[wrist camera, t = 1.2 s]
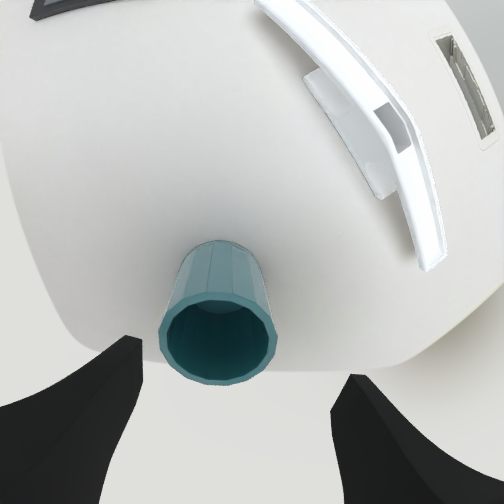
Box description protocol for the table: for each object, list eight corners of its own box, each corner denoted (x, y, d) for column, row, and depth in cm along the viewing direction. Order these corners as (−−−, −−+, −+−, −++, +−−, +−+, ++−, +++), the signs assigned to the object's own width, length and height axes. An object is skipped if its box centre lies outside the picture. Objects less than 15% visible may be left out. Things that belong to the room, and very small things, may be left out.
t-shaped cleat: (299, -9, 13) (322, -51, 8) (442, 229, 20) (488, 254, 15) (248, 15, 14) (256, -28, 9) (405, 259, 20) (447, 292, 15)
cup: (197, 323, 21) (188, 394, 14) (166, 255, 19) (138, 311, 12) (270, 301, 21) (289, 369, 14) (246, 228, 19) (256, 275, 12)
